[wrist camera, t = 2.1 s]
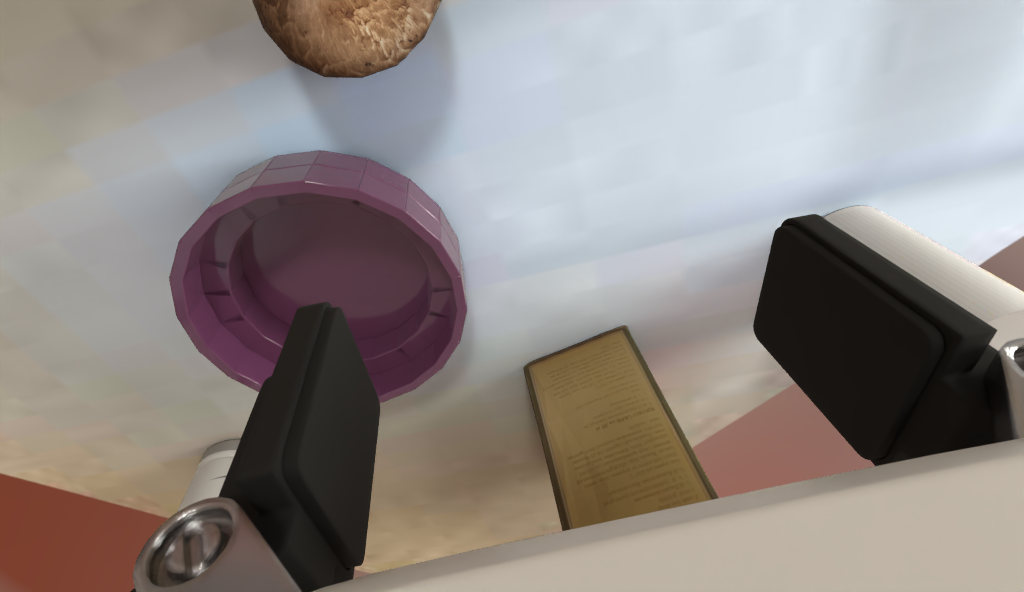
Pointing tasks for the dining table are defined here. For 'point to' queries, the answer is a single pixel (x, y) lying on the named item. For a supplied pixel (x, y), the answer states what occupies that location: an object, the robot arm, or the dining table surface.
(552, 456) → the food packaging
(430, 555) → the dining table surface
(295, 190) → the bowl
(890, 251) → the white cylinder
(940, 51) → the dining table surface
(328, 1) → the mushroom
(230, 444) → the travel mug
